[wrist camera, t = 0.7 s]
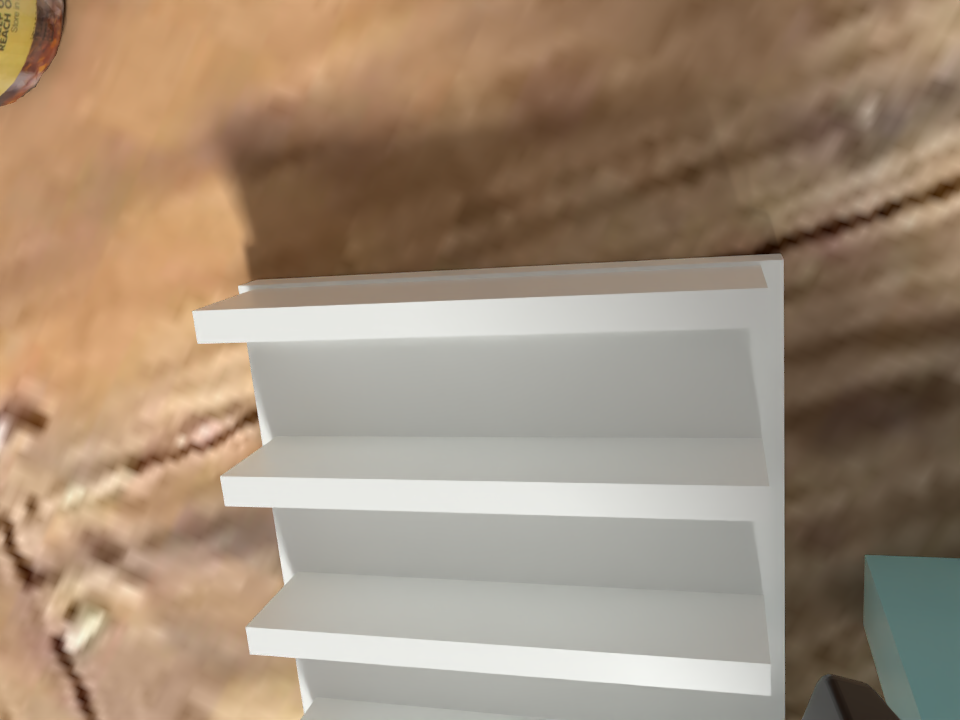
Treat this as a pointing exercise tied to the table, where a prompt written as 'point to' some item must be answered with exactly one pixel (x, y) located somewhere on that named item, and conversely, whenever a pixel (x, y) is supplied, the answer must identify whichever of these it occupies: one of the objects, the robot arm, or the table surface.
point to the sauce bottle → (27, 43)
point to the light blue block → (915, 633)
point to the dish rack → (522, 488)
